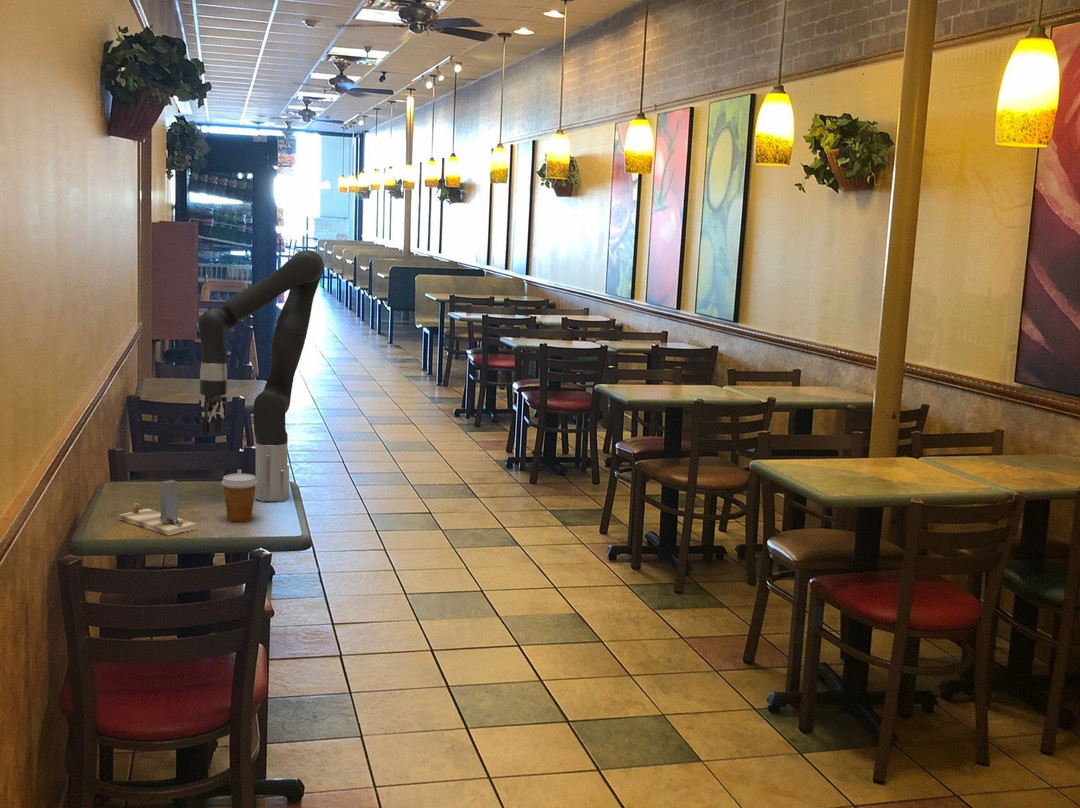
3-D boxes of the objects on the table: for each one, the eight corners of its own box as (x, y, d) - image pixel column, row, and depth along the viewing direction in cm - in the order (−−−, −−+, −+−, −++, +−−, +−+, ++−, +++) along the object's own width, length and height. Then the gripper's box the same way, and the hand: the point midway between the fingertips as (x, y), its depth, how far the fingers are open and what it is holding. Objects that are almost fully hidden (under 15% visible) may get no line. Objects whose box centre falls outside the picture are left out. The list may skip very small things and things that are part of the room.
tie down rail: (197, 529, 284) (197, 514, 284) (168, 536, 277) (168, 521, 276) (147, 513, 297) (147, 499, 296) (118, 520, 290) (118, 505, 289)
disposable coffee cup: (255, 523, 292) (255, 481, 290) (219, 523, 290) (219, 481, 289) (258, 514, 301) (258, 473, 299) (223, 514, 300) (223, 472, 298)
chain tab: (186, 524, 282) (186, 484, 281) (175, 526, 280) (175, 486, 278) (166, 517, 287) (165, 478, 286) (154, 520, 285) (154, 480, 283)
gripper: (215, 380, 303) (214, 437, 305) (235, 377, 317) (234, 431, 319) (190, 379, 304) (189, 435, 306) (212, 376, 318) (210, 429, 320)
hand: (212, 433), depth 312 cm, fingers open, 8 cm apart
